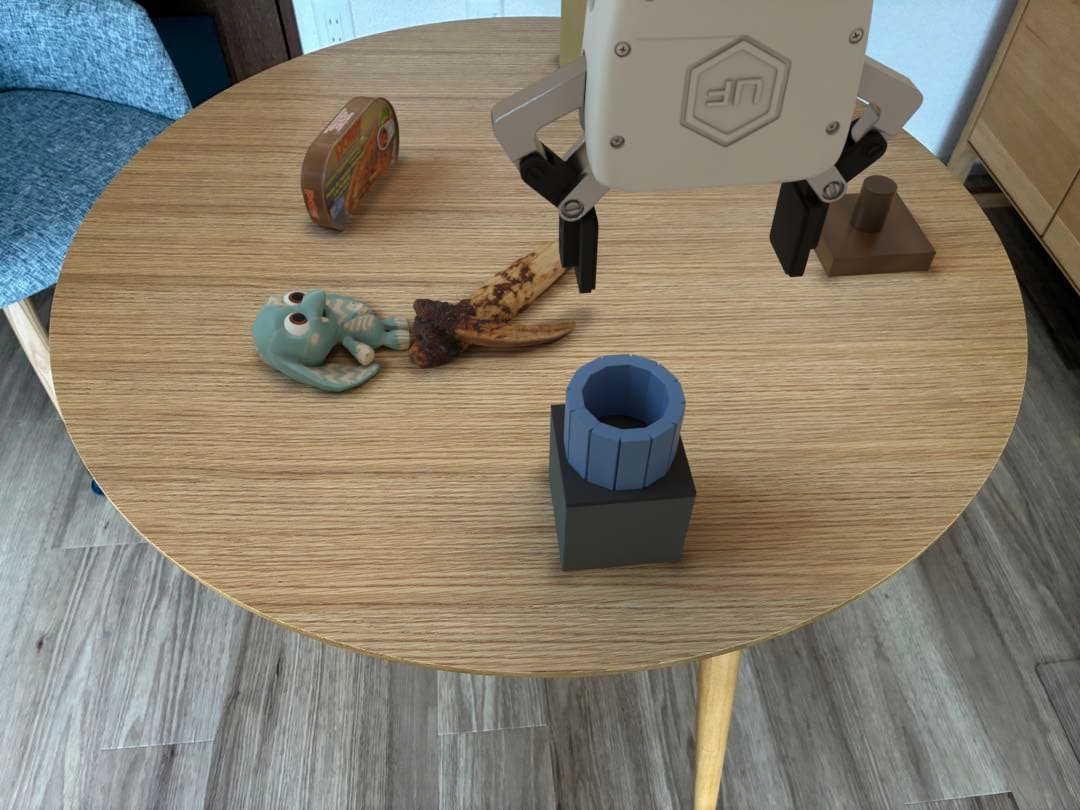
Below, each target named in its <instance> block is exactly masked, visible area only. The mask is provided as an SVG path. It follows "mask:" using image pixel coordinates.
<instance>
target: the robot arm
mask: <svg viewBox="0 0 1080 810" xmlns="http://www.w3.org/2000/svg"><path fill="white" fill-rule="evenodd" d="M873 8H874V0H588V2H587V10H586V17H585V26H584V35H583V44H582V54H581V57H579V58H577V59H576V60H574V61H572V62H570V63H568V64H567V65H565V66H563V67H560V68H558V69H556V70H554V71H552V72H550V73H549V74H547V75H545V76H543V77H542V78H539V79H538V80H536V81H535V82H533V83H530V84H529V85H527V86H525V87H524V88H522V89H520V90H518V91H517V92H514V93H513V94H511V95H509V96H507V97H506V98H504V99H502V100H500V101H498V102H496V103H495V104H494V105H493V106H492V107H491V110H490V120H491V127H492V132H493V135H494V137H495V138H496V139H497V141H498V143H499V144H500V146H501V148H502V149H503V150H504V152H505V154H506V155H507V156H508V158H509V160H510V161H511V163H512V164H514V166H515V167H516V169H517V171H518V172H519V175H520V179H521V180H522V181H523V182H524V183H525V184H526V185H527V186H528V187H530V188H531V189H532V190H533V191H535V192H536V193H537V194H538V195H540V196H541V197H542V198H543V199H545V200H546V201H547V202H549V203H550V204H551V205H553V206H554V207H555V208H556V209H557V211H558V240H559V255H560V261H561V266H562V268H566V269H569V268H573V270H574V275H575V279H576V284H577V288H578V294H580V295H582V294H592V291H594V290H596V288H597V269H598V267H597V266H598V251H599V250H598V249H599V233H600V232H599V231H600V229H599V228H600V227H599V226H600V225H599V219H598V215H597V211H596V204H598V202H599V201H600V200H601V199H602V198H603V197H604V196H605V195H606V194H607V193H608V192H609V191H610V190H612V191H617V192H621V193H659V192H672V191H673V192H674V191H676V192H677V191H689V190H703V189H705V190H706V189H719V188H721V189H722V188H731V187H732V188H734V187H746V186H759V185H773V184H780V187H779V192H778V196H777V201H776V205H775V208H774V209H775V210H774V214H773V217H772V222H771V227H770V231H769V242H770V244H771V247H772V250H773V252H774V253H775V256H776V257H777V259H778V262H779V264H780V266H781V268H782V270H783V272H784V275H787V276H788V277H789V278H801V277H803V276H804V274H805V271H806V267H807V264H808V260H809V257H810V253H811V250H814V249H816V247H817V246H818V243H819V240H820V236H821V233H822V229H823V226H824V222H825V219H826V215H827V212H828V208H829V205H830V203H832V202H836V201H837V200H839V199H841V198H842V197H843V196H844V195H845V194H847V191H848V183H849V182H851V180H854V179H855V178H856V177H857V176H859V175H860V174H861V173H862V172H864V171H866V169H867V168H869V167H870V166H871V165H873V164H875V163H876V162H877V161H878V160H879V159H881V158H882V157H883V156H884V154H885V153H886V152H887V150H888V142H889V141H890V139H892V138H895V137H896V136H897V135H898V134H899V133H900V131H902V129H903V127H904V126H906V125H907V123H908V122H909V121H910V120H911V118H912V117H913V116H914V115H915V114H916V112H917V111H918V110H919V109H920V107H921V106H922V104H923V102H924V95H923V93H922V92H921V91H920V90H919V88H918V87H917V86H916V85H915V83H914V82H913V81H912V80H911V79H910V78H909V77H907V76H906V75H904V74H902V73H900V72H899V71H896V70H895V69H893V68H892V67H889V66H887V65H886V64H883V63H882V62H880V61H878V60H877V59H874V58H872V57H871V56H868V55H867V54H866V52H867V48H868V42H869V35H870V30H871V22H872V15H873V10H874V9H873ZM857 98H859V99H861V100H863V101H864V102H867V103H868V104H867V106H866V107H865V108H864V110H863V111H862V115H861V116H860V117H857V118H854V119H853V116H854V111H855V107H856V104H857ZM576 110H578V116H579V117H578V118H579V119H578V120H579V124H580V127H581V129H582V130H583V133H582V134H581V136H580V137H579V138H577V140H576V141H575V142H574V143H573V144H572V146H570V147H569V148H568V150H567V151H566V152H565V153H564V154H563V156H562V157H561V156H559V155H558V154H557V153H556V152H554V151H553V150H552V149H551V148H549V147H548V146H547V145H546V144H545V143H544V142H542V141H540V139H539V137H538V136H537V133H538V131H540V130H541V129H542V128H544V127H546V126H548V125H550V124H552V123H554V122H555V121H558V120H559V119H561V118H563V117H565V116H566V115H569V114H570V113H572V112H574V111H576Z"/></svg>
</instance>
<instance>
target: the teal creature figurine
mask: <svg viewBox="0 0 1080 810" xmlns="http://www.w3.org/2000/svg"><path fill="white" fill-rule="evenodd" d="M374 313H375V312H374V311H373V309H372V308H370V306H368V305H366V304H364V303H362V302H360V301H358V300H357V299H355V298H352V297H349V296H345V295H341V294H334V293H330V294H327V293H326V291H325V289H321V288H320V289H318V288H317V289H312V290H311V291H309V292H308V291H303V290H291V291H286V292H283V293H275V294H272V295H271V296H270V297H269V298H268V300H267V301H266V303H265V304H264V305H263V306H262V307H261V309H260V310H259V311H258V312H257V314H256V316H255V318H254V320H253V323H252V326H251V328H250V333H251V339H252V345H253V347H254V349H255V351H256V353H257V354H258V355H259V357H260V359H261V360H262V361H263V363H265V364H266V365H268V366H269V367H271V368H272V369H274V370H276V371H280V372H281V373H282V374H283V375H286V376H287V377H289V378H290V379H293V380H295V381H296V382H299V383H301V384H304V385H309V386H312V387H316V388H318V389H320V390H321V391H325V392H337V393H340V392H344V391H347V390H350V389H352V388H355V387H358V386H361V385H362V384H363V383H365V382H366V381H368V380H369V379H371V378H372V377H374V376H375V375H377V373H378V372H379V371H380V369H381V364H379V363H377V362H373V361H374V359H375V355H376V353H375V350H377V349H379V348H381V346H385V347H388V348H391V349H393V350H398V351H404V350H410V348H411V347H412V345H413V344H412V343H413V337H412V335H411V332H410V330H411V329H410V322H409V320H408V318H407V317H406V316H400V315H399V316H390V317H388V318H385V319H383V320H382V319H380V318H379V317H377V316H376V315H375V314H374ZM339 344H341V345H342V346H343V347H345V348H346V349H347V350H348V351H349V353H350V354H351V355H352V356H353V357H354V358H355V359H356V361H357V362H359V363H360V364H359V365H358V366H355V365H345V364H337V363H329V364H328V363H327V364H323V363H324V361H325V360H326V358H327V357H328V355H329V353H330V352H331V350H332V349H333V348H334V347H335V346H336V345H339Z"/></svg>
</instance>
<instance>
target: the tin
mask: <svg viewBox="0 0 1080 810" xmlns="http://www.w3.org/2000/svg"><path fill="white" fill-rule="evenodd" d="M399 152H400V125H399V120H398V116H397V113H396V110H395V108H394V106H393V104H392V103H391V102H390V100H388V99H387V98H385V97H382V96H378V97H374V96H373V97H371V96H362V95H361V96H355V97H353V98H351V99H349V100H348V101H347V103H346V104H345V105H344V106H343V107H342V108H341V109H340V110H339V112H338V113H337V114H336V115H335V116H333V118H332V119H331V121H329V123H328V124H327V125H325V127H324V128H323V130H321V132H320V133H319V134H318V135H317V137H315V138H314V139H313V141H312V142H311V143H310V145H309V146H308V148H307V150H306V152H305V155H304V157H303V161H302V164H301V170H300V190H301V195H302V196H303V197H302V198H303V202H304V206H305V209H306V211H307V214H308V217H309V219H310V220H311V221H312V222H313V223H314V224H315V225H317V226H320V227H324V228H329V229H335V230H338V231H341V232H344V231H345V230H346V227H345V224H346V223H347V222H348V220H349V219H350V217H352V215H353V214H354V213H355V211H356V210H357V208H358V207H359V206H360V205H361V203H362V202H363V201H364V200H365V198H366V197H367V196H368V194H369V193H370V192H371V190H372V189H373V187H375V185H376V184H377V183H378V181H379V180H380V178H381V177H382V176H383V175H384V173H385V172H386V171H387V170H388V168H389V167H390V166H393V165H394V164H396V163H398V159H399Z"/></svg>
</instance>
